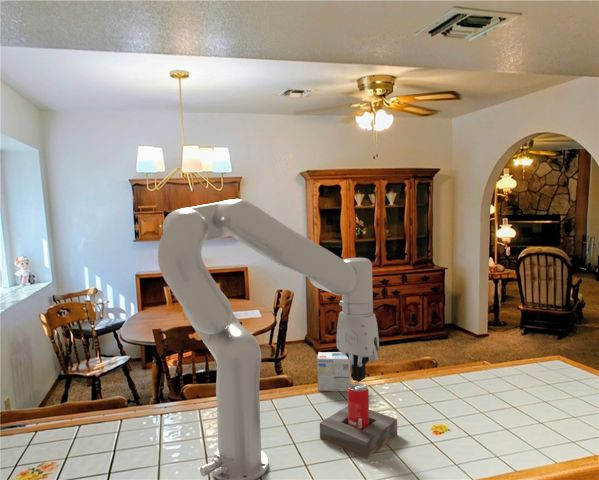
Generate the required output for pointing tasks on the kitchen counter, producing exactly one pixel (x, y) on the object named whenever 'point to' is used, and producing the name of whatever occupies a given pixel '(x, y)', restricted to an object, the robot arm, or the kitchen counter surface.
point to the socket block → (358, 432)
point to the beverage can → (358, 406)
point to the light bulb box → (333, 371)
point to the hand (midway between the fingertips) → (358, 379)
